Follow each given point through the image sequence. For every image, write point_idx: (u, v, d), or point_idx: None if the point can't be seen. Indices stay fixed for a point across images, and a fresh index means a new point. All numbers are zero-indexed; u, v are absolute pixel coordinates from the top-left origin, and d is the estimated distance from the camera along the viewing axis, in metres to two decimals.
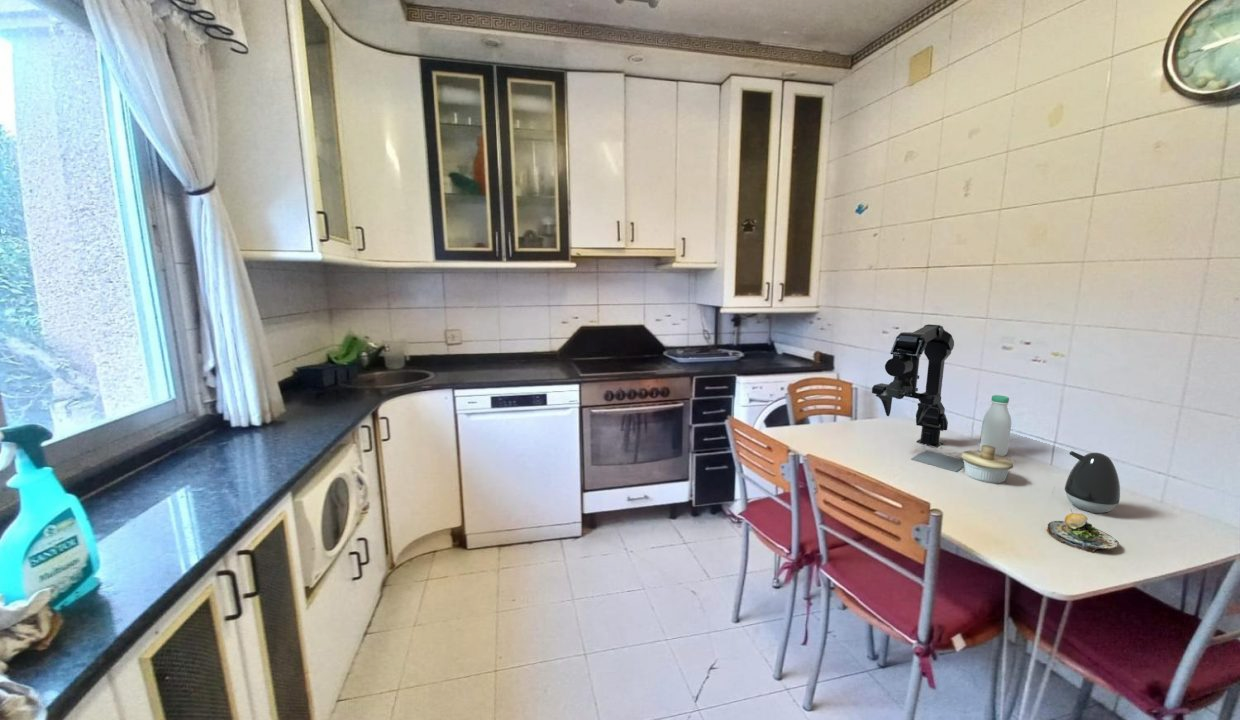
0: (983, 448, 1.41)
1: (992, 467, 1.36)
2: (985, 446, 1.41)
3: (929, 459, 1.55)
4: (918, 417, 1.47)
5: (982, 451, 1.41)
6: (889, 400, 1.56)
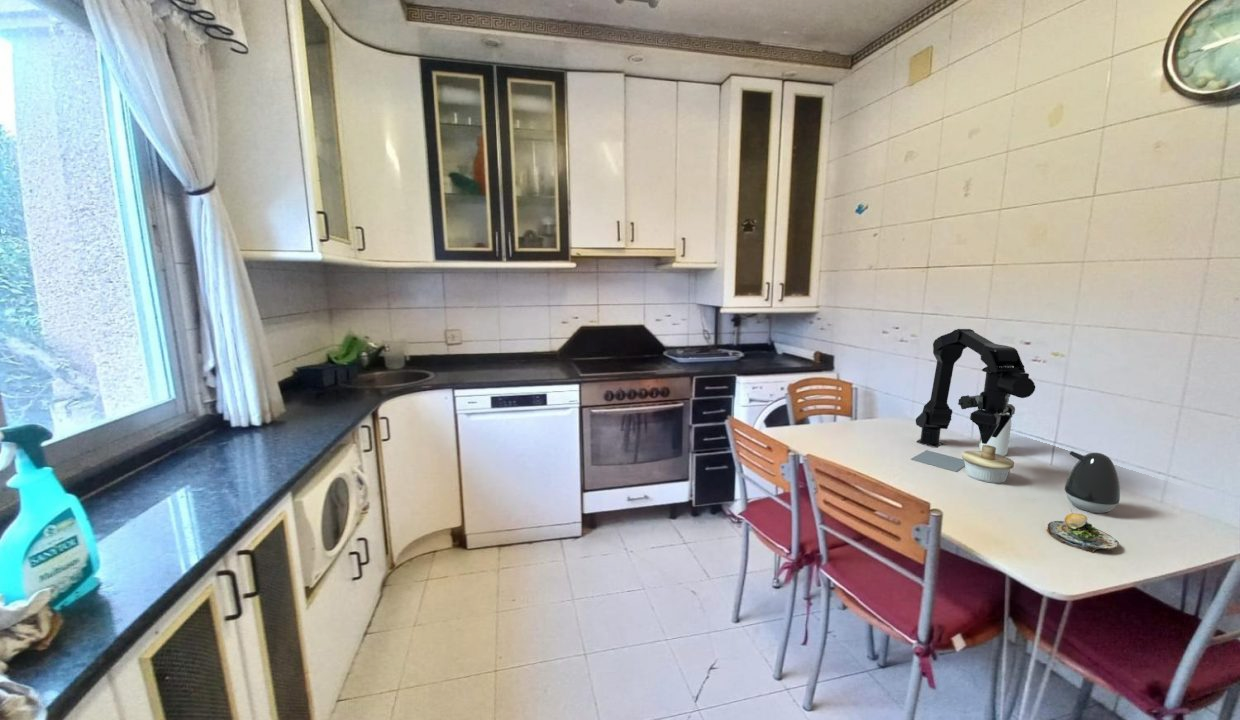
0: (984, 448, 1.41)
1: (992, 467, 1.36)
2: (986, 446, 1.41)
3: (929, 459, 1.55)
4: None
5: (983, 451, 1.41)
6: (1000, 421, 1.42)
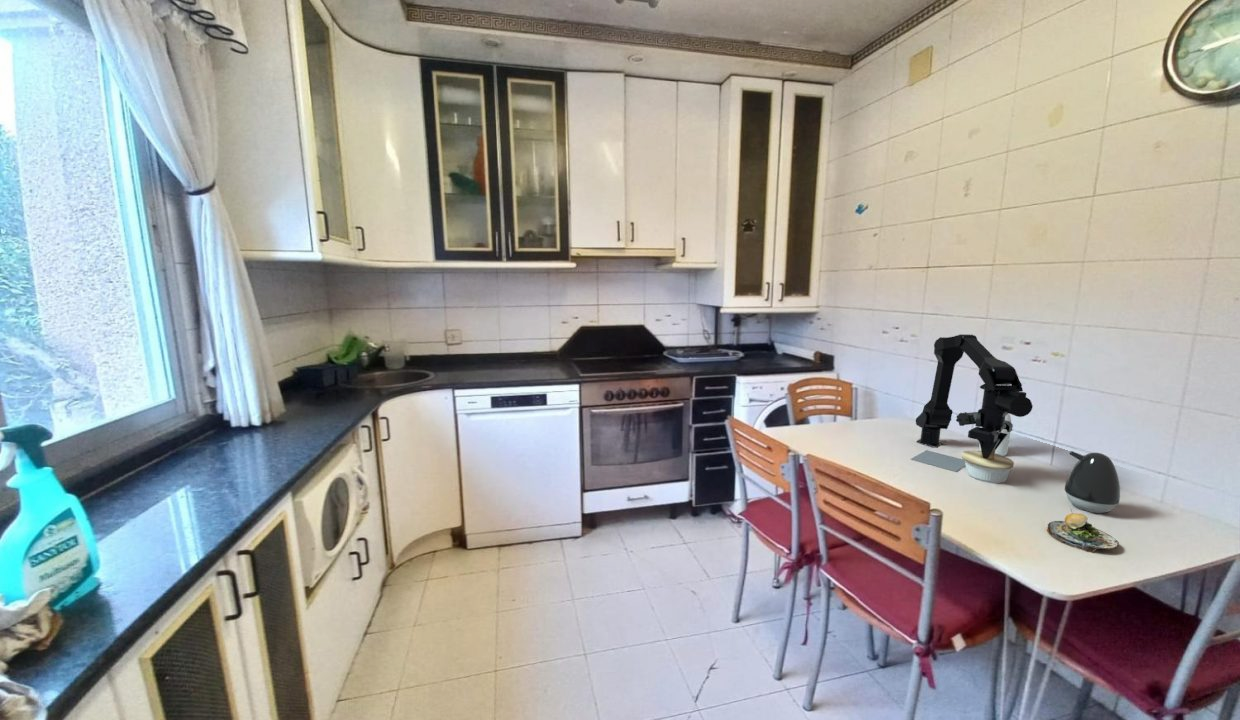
0: None
1: (992, 467, 1.36)
2: None
3: (929, 459, 1.55)
4: None
5: None
6: None
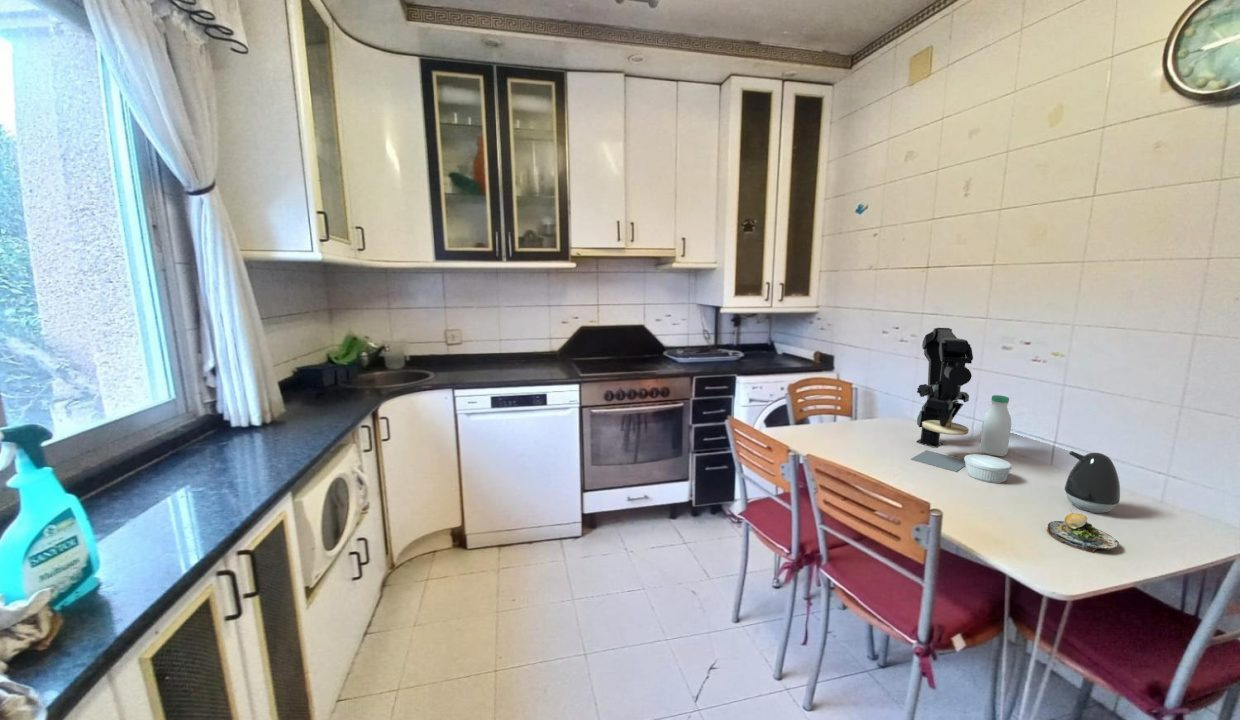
0: None
1: (948, 433, 1.47)
2: None
3: (929, 459, 1.55)
4: None
5: None
6: None
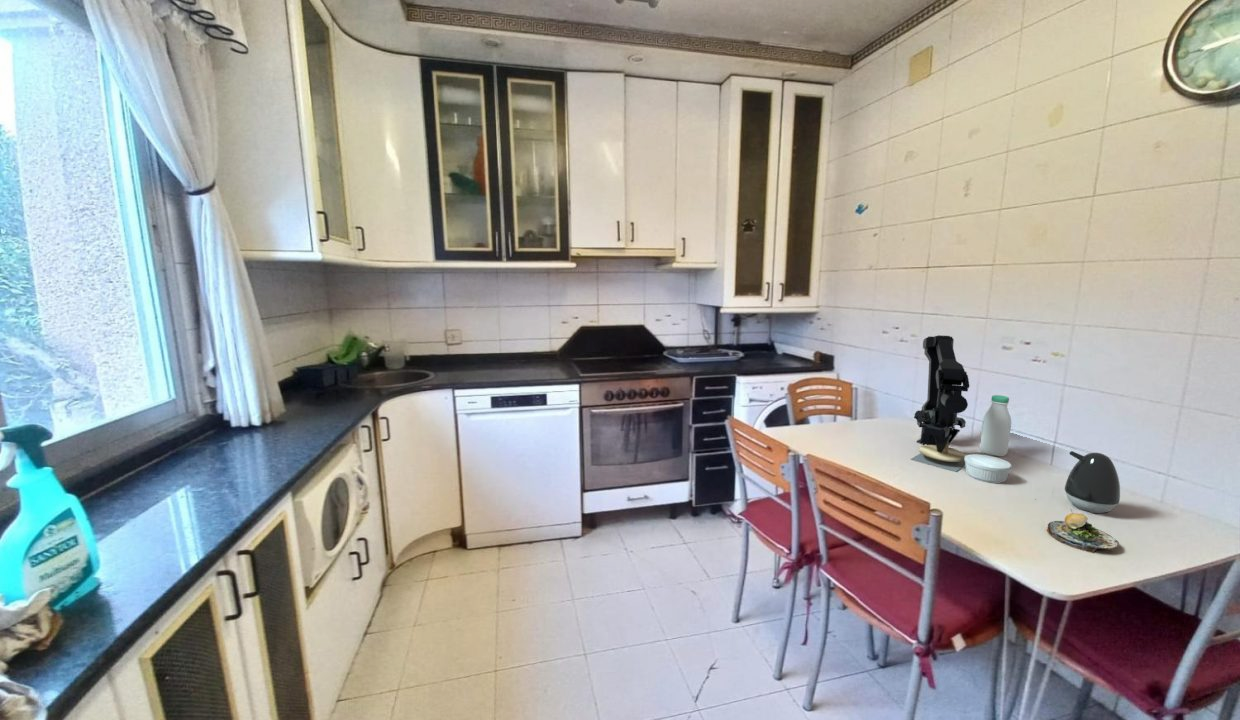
0: None
1: (945, 460, 1.49)
2: None
3: (929, 459, 1.55)
4: None
5: None
6: None
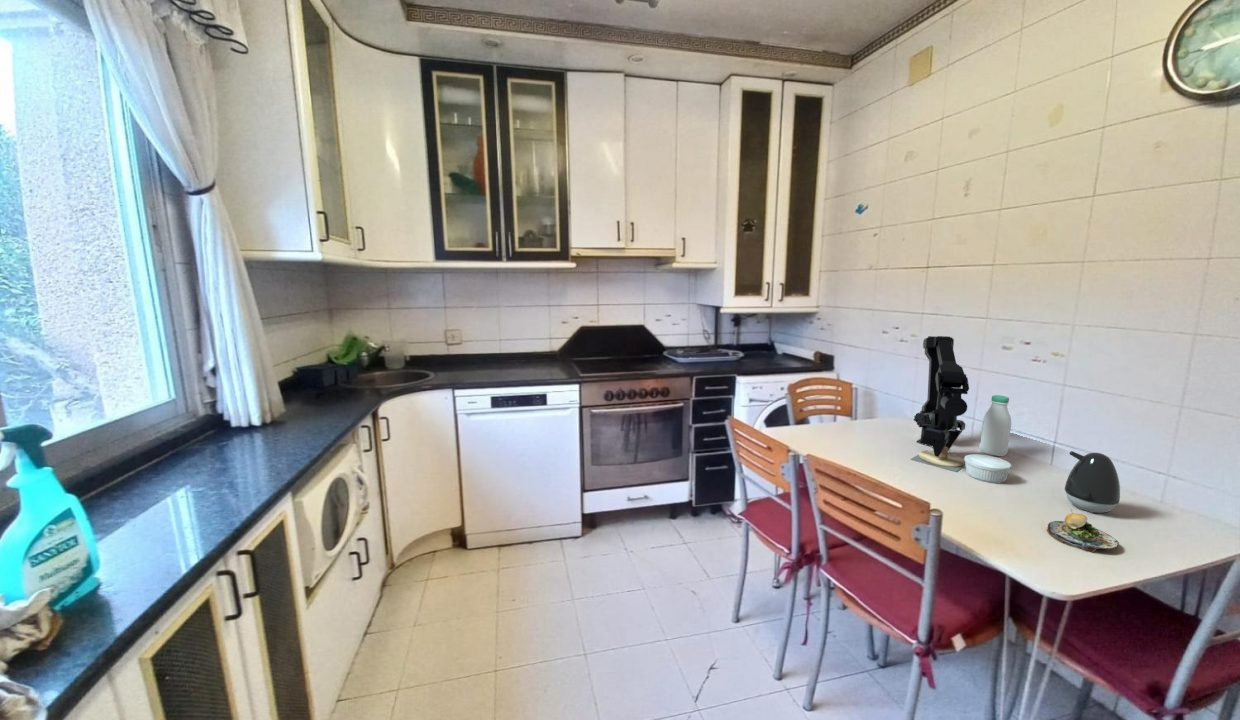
0: None
1: (944, 465, 1.49)
2: None
3: None
4: None
5: None
6: (951, 436, 1.55)
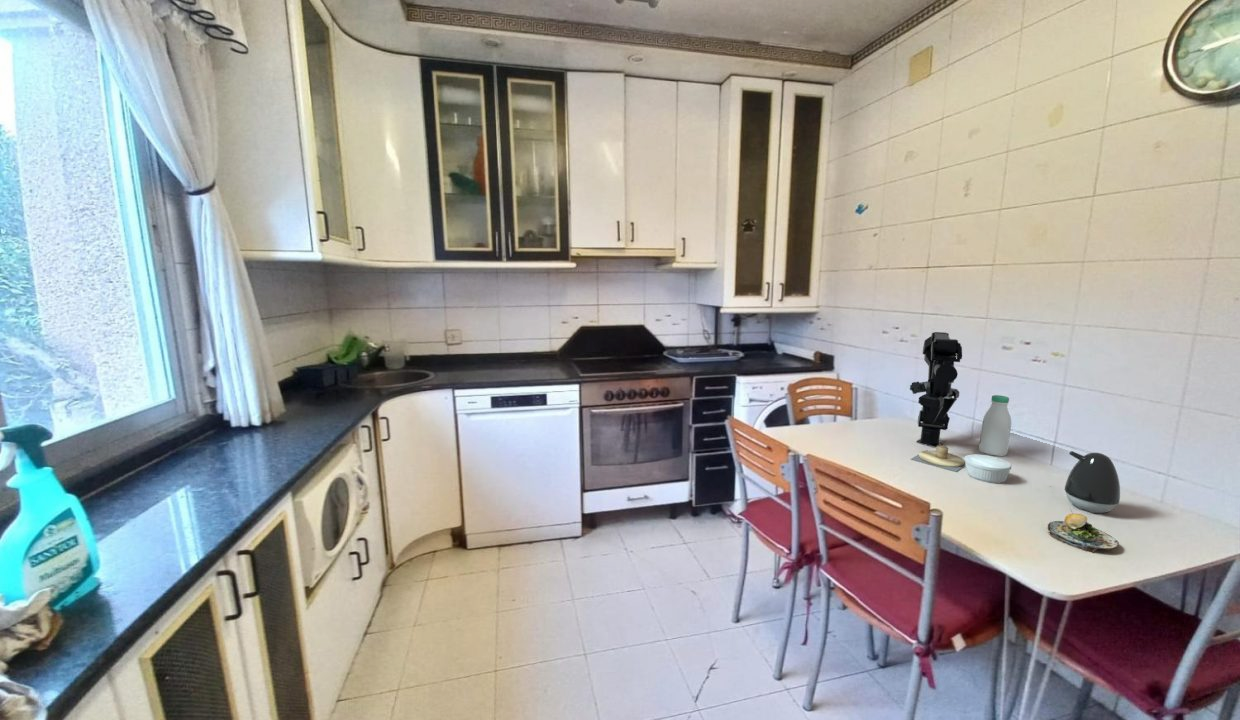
0: (937, 448, 1.54)
1: (944, 465, 1.49)
2: (939, 446, 1.55)
3: None
4: None
5: (937, 451, 1.54)
6: (946, 404, 1.61)
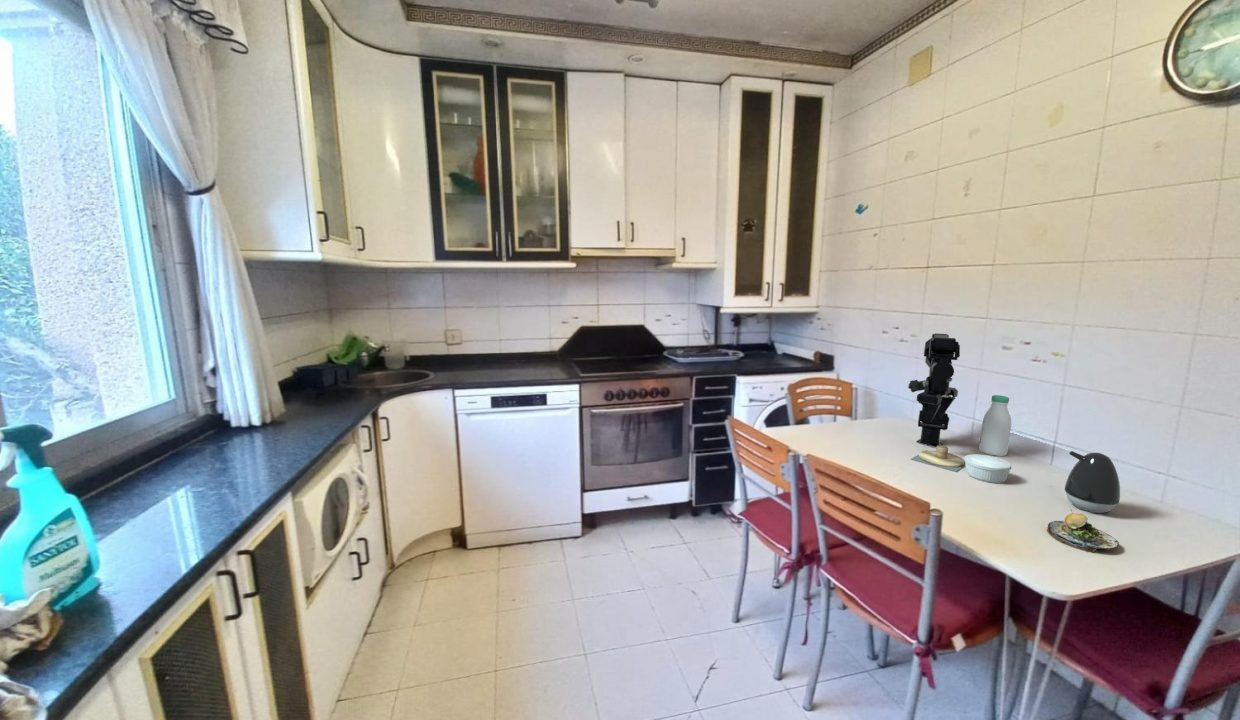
0: (937, 448, 1.54)
1: (944, 465, 1.49)
2: (939, 446, 1.55)
3: None
4: None
5: (937, 451, 1.54)
6: (945, 403, 1.62)
